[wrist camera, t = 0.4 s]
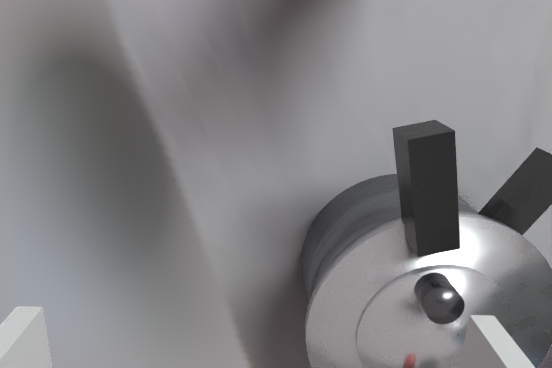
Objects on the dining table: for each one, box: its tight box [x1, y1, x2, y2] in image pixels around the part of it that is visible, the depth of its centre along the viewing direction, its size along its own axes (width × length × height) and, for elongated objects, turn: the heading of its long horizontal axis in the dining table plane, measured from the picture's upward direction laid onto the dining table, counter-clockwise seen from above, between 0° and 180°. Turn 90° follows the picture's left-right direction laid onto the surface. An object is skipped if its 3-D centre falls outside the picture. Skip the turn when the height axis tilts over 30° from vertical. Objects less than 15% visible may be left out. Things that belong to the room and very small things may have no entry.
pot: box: [302, 148, 552, 304], centre depth 39 cm, size 26×19×10 cm
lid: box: [305, 120, 552, 368], centre depth 32 cm, size 28×20×4 cm
